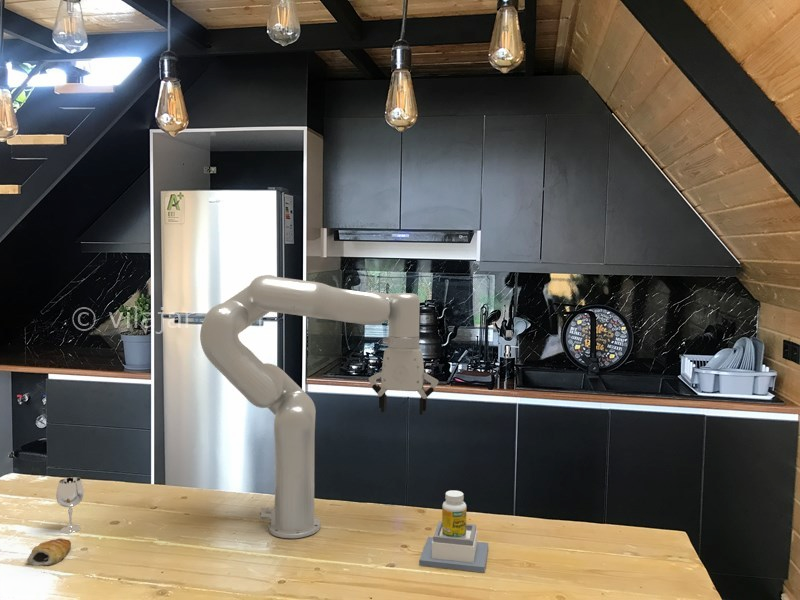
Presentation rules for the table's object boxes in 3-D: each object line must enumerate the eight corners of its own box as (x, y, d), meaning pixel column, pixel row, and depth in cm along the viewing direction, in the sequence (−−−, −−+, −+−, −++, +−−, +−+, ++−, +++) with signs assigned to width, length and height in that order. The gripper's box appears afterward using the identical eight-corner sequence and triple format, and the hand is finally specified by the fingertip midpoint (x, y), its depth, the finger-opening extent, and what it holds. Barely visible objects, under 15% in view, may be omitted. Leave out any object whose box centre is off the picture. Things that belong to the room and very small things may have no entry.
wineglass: (82, 532, 150) (82, 482, 149) (55, 535, 148) (54, 485, 147) (85, 523, 155) (84, 475, 154) (58, 526, 153) (57, 477, 152)
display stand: (419, 565, 135) (419, 538, 135) (427, 541, 147) (428, 517, 147) (484, 572, 133) (485, 545, 132) (488, 547, 144) (488, 522, 144)
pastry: (50, 547, 142) (50, 530, 142) (79, 548, 142) (79, 531, 142) (24, 566, 133) (24, 549, 133) (56, 568, 133) (55, 550, 133)
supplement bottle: (455, 528, 143) (456, 487, 143) (471, 537, 139) (471, 494, 138) (437, 534, 140) (437, 491, 140) (452, 542, 136) (452, 499, 135)
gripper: (365, 344, 152) (364, 413, 153) (436, 346, 149) (435, 418, 150) (373, 340, 159) (372, 407, 160) (440, 343, 156) (439, 411, 157)
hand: (402, 412), depth 155 cm, fingers open, 9 cm apart
